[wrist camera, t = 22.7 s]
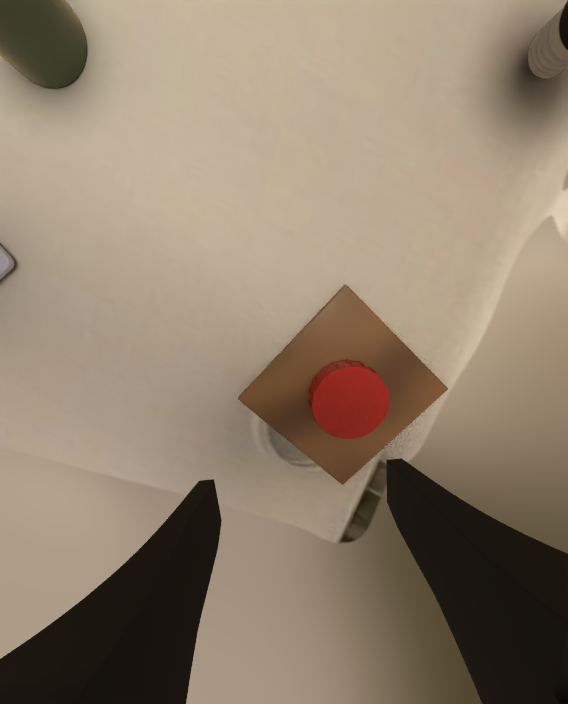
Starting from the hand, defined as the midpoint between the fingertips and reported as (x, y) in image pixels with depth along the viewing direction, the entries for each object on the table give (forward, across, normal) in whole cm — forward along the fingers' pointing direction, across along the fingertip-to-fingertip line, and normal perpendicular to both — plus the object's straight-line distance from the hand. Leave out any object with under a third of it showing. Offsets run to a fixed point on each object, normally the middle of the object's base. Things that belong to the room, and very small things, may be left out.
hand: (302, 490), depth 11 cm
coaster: (+9, -4, 0) cm, 10 cm away
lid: (+8, -4, 0) cm, 9 cm away
